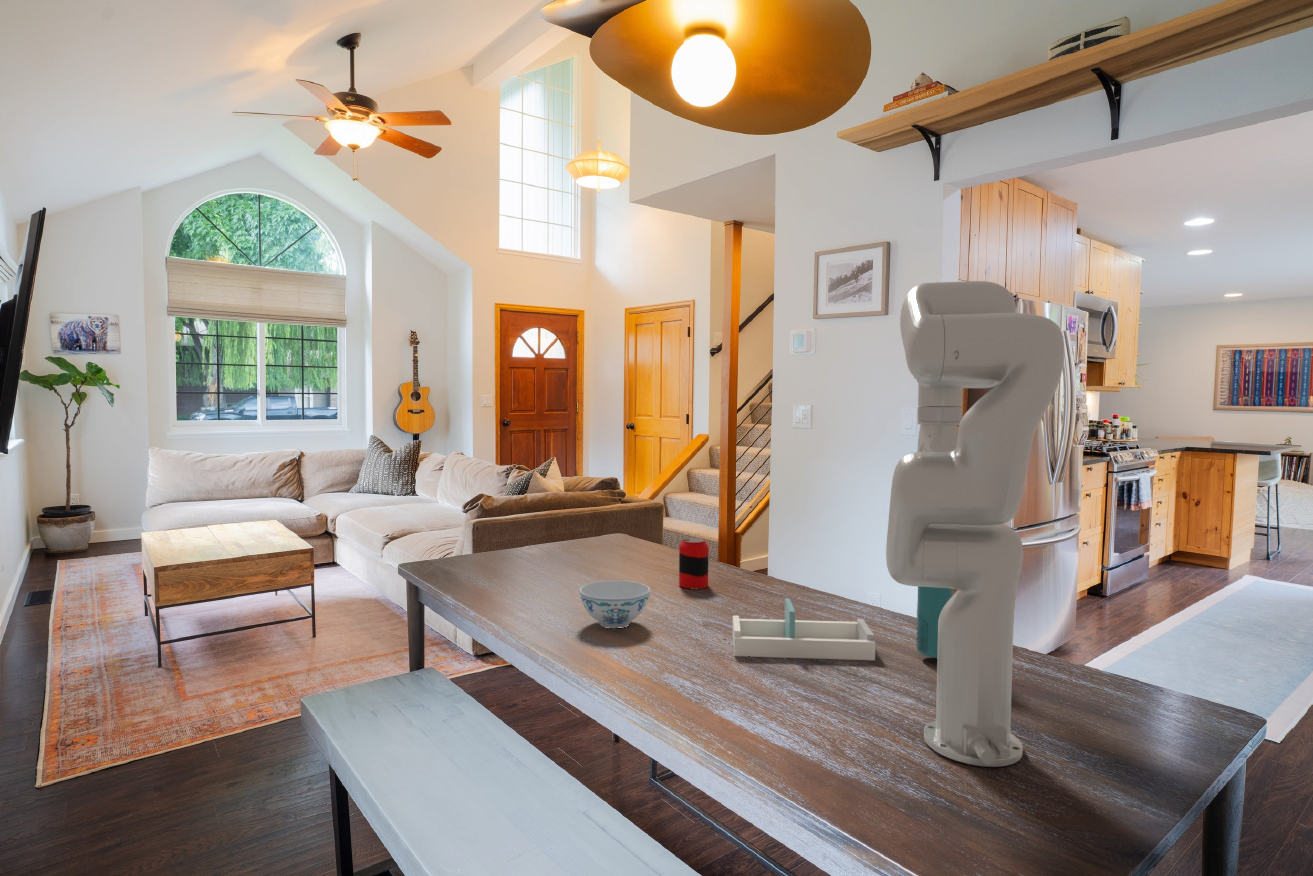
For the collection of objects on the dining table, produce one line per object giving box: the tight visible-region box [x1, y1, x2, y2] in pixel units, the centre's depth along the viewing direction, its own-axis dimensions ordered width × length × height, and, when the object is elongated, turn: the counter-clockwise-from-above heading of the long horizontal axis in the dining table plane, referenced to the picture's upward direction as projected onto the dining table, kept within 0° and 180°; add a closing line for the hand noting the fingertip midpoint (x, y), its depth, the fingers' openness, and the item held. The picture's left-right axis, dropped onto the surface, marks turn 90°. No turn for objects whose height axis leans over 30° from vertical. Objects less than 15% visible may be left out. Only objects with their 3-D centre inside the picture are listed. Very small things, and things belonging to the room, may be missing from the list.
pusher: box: [784, 597, 796, 638], centre depth 140 cm, size 9×1×8 cm, turn 176°
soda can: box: [678, 537, 709, 589], centre depth 187 cm, size 8×8×12 cm
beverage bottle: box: [915, 586, 954, 659], centre depth 133 cm, size 6×7×20 cm
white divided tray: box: [731, 615, 876, 661], centre depth 140 cm, size 12×26×4 cm, turn 86°
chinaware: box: [579, 580, 651, 628], centre depth 154 cm, size 15×15×8 cm
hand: (937, 509), depth 132 cm, fingers open, 9 cm apart
